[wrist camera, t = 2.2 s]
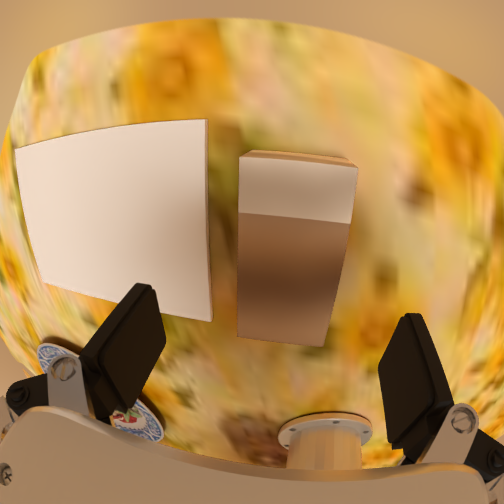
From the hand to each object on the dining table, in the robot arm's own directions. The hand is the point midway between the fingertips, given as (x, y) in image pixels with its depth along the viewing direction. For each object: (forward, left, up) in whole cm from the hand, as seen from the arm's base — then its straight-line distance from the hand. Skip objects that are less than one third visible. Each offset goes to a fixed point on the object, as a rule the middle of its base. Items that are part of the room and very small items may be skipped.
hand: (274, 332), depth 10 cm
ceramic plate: (-32, +28, -11) cm, 44 cm away
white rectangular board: (-1, +17, -10) cm, 20 cm away
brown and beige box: (-1, 0, -10) cm, 10 cm away
